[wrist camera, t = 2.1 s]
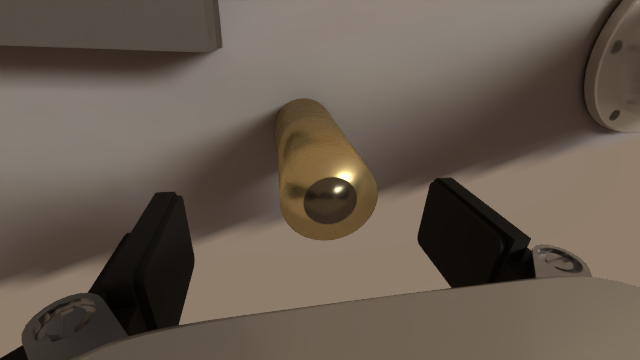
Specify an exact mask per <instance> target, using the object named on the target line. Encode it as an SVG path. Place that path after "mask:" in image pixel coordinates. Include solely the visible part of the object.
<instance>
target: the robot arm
mask: <svg viewBox="0 0 640 360" xmlns="http://www.w3.org/2000/svg"><path fill="white" fill-rule="evenodd" d="M584 93H585V101H586V105H587V109H588V111H589V113H590V114H591V116H592V118H593V119H594V120H595V121H596V122H598V123H599V124H600V125H601V126H604V127H606V128H609V129H611V130H615V131H619V132H623V133H640V0H622V2H621V3H620V4H619V6H618V7H617V8H616V9H615V11H614V12H613V13H612V15H611V16H610V18H609V20H608V21H607V23H606V24H605V26H604V28H603V29H602V31H601V33H600V35H599V37H598V39H597V41H596V43H595V45H594V48H593V50H592V53H591V56H590V59H589V62H588V65H587V69H586V75H585V82H584ZM530 240H531V238H529V237H528V236H527V235H526V234H524V233H523V232H522V231H520V230H519V229H518V228H517V227H515V226H514V225H513V224H511V223H510V222H509V221H507V220H506V219H505V218H503V217H502V216H501V215H499V214H498V213H497V212H496V211H494V210H493V209H492V208H490V207H489V206H488V205H487V204H485V203H484V202H482V201H481V200H480V199H479V198H477V197H476V196H475V195H473V194H472V193H471V192H470V191H468V190H467V189H466V188H464V187H463V186H462V185H460V184H459V183H458V182H456V181H455V180H454V179H452V178H436V179H435V180H434V182H432V183H431V184H430V186H429V191H428V195H427V199H426V203H425V207H424V212H423V216H422V220H421V224H420V228H419V232H418V243H419V245H420V246H421V247H422V249H423V250H424V252H425V253H426V254H427V255H428V257H429V258H430V260H431V261H432V262H433V264H434V265H435V266H436V267H437V269H438V270H439V272H440V273H441V274H442V276H443V277H444V278H445V280H446V281H447V282H448V284H449V285H450V286H451V288H449V289H440V290H432V291H425V292H417V293H409V294H401V295H394V296H386V297H378V298H370V299H362V300H355V301H348V302H340V303H332V304H325V305H317V306H310V307H303V308H295V309H288V310H280V311H273V312H266V313H259V314H251V315H244V316H236V317H229V318H222V319H214V320H208V321H202V322H196V323H190V324H185V325H179V321H180V317H181V314H182V310H183V306H184V302H185V299H186V294H187V291H188V287H189V283H190V279H191V276H192V272H193V268H194V253H193V248H192V243H191V237H190V232H189V227H188V222H187V217H186V212H185V207H184V202H183V198H182V196H177V195H176V193H175V192H159V193H155V195H154V196H153V198H152V199H151V201H150V203H149V204H148V206H147V208H146V209H145V211H144V212H143V214H142V216H141V217H140V219H139V220H138V222H137V224H136V225H135V227H134V229H133V230H132V232H131V233H127V234H126V235H125V236H124V237H123V239H122V240H121V242H120V243H119V245H118V246H117V248H116V250H115V251H114V253H113V254H112V256H111V257H110V259H109V260H108V262H107V264H106V265H105V267H104V268H103V270H102V271H101V273H100V275H99V276H98V278H97V279H96V281H95V282H94V284H93V286H92V287H91V289H90V290H89V292H88V293H80V294H75V295H71V296H67V297H65V298H63V299H60V300H58V301H56V302H54V303H52V304H50V305H49V306H47V307H45V308H44V309H43V310H41V311H40V312H39V313H37V314H36V315H35V316H34V317H33V318H32V319H31V320H30V321H29V322H28V324H27V325H26V326H25V329H24V331H23V333H22V343H23V345H22V346H21V347H19V348H17V349H16V350H14V351H12V352H10V353H9V354H7V355H5V356H4V357H2V358H0V360H640V287H637V286H634V285H630V284H626V283H623V282H618V281H614V280H608V279H603V278H596V277H592V274H591V272H590V270H589V268H588V266H587V264H586V263H585V262H583V260H581V259H580V258H579V257H577V256H576V255H574V254H573V253H570V252H568V251H566V250H564V249H561V248H558V247H555V246H551V245H537V246H535V247H534V248H533V249H532V251H531V250H530V249H528V248H527V246H528V244H529V242H530Z"/></svg>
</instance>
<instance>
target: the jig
mask: <svg viewBox="0 0 640 360" xmlns="http://www.w3.org/2000/svg"><path fill="white" fill-rule="evenodd" d="M0 45H5V46H34V47H62V48H91V49H120V50H149V51H178V52H207V53H210V52H212V51H214V50H216V49H219V48H221V47H222V37H221V27H220V17H219V7H218V0H0Z"/></svg>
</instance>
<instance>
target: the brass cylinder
mask: <svg viewBox="0 0 640 360" xmlns="http://www.w3.org/2000/svg"><path fill="white" fill-rule="evenodd" d="M275 132H276V145H277V159H278V173H279V186H280V200H281V210H282V214H283V216H284V218H285V220H286V222H287V223H288V224H289V226H290V227H291V228H292V229H293V230H294V231H296V232H297V233H299V234H300V235H303V236H304V237H307V238H311V239H315V240H333V239H338V238H341V237H344V236H347V235H349V234H351V233H353V232H354V231H356V230H357V229H359V228H360V227H361V226H362V225H363V224H364V223H365V222H366V221H367V220H368V219H369V217H370V216H371V215H372V212H373V211H374V209H375V206H376V203H377V197H378V189H377V184H376V181H375V178H374V177H373V175H372V173H371V172H370V170H369V169H368V168H367V166H366V165H365V163H364V162H363V160H362V159H361V158H360V156H359V155H358V153H357V152H356V151H355V149H354V148H353V146H352V145H351V143H350V142H349V141H348V139H347V138H346V136H345V135H344V134H343V132H342V131H341V129H340V128H339V127H338V125H337V124H336V122H335V121H334V119H333V118H332V117H331V115H330V114H329V112H328V111H327V110H326V108H325V107H324V106H323V105H322V104H320V103H319V102H317V101H315V100H312V99H305V98H303V99H296V100H293V101H291V102H289V103H288V104H286V105H285V106H284V107H283V108H282V109H281V110H280V112H279V114H278V116H277V118H276V123H275Z"/></svg>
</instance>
